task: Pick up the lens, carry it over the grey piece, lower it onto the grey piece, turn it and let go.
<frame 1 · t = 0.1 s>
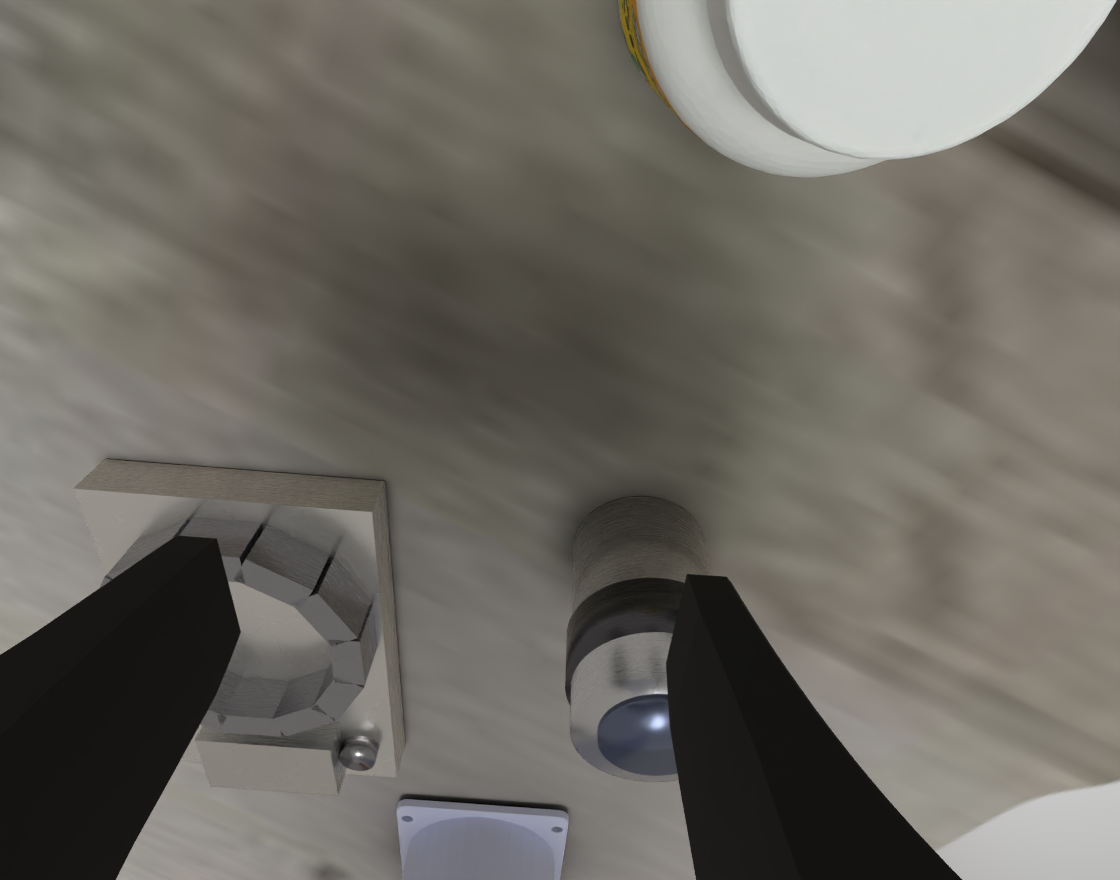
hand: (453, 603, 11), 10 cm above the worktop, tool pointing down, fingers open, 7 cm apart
grey piece: (277, 621, 25), on the worktop
lens: (638, 547, 23), on the worktop
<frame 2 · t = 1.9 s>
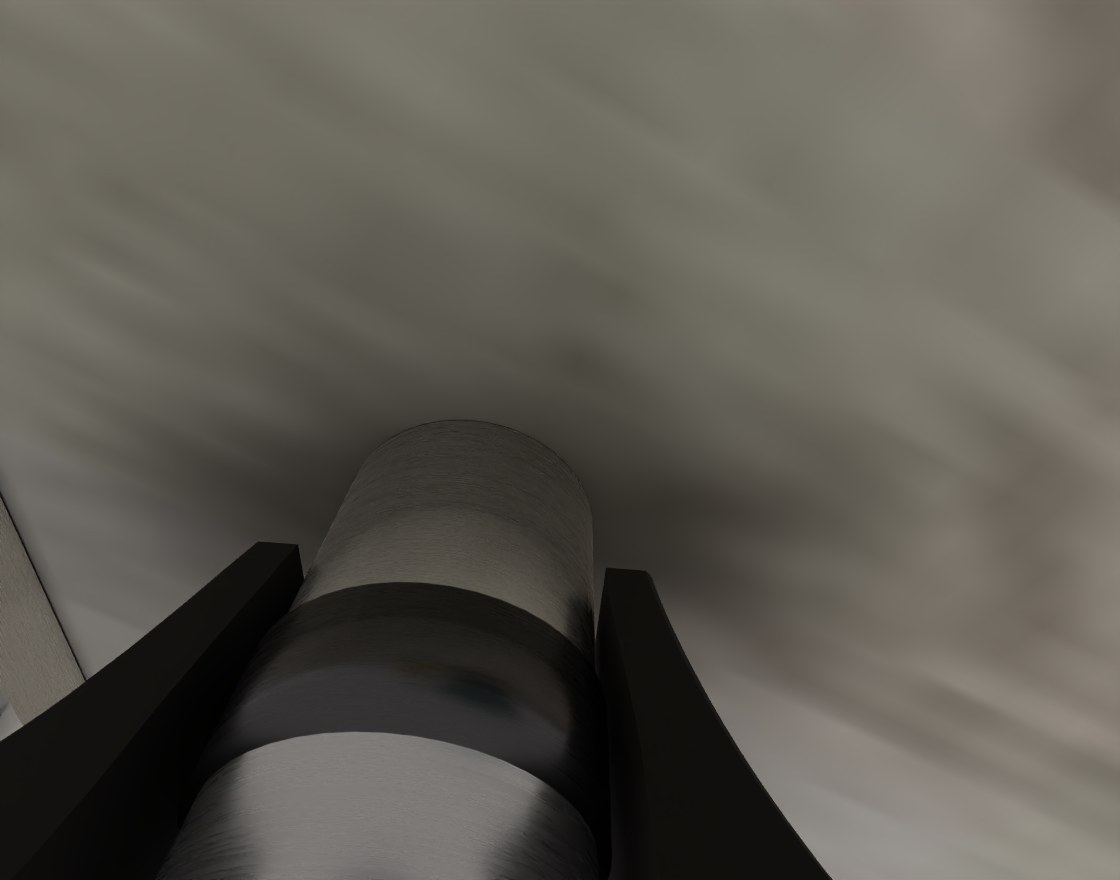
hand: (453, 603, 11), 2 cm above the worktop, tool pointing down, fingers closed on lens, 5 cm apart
lens: (471, 524, 12), on the worktop, touching gripper
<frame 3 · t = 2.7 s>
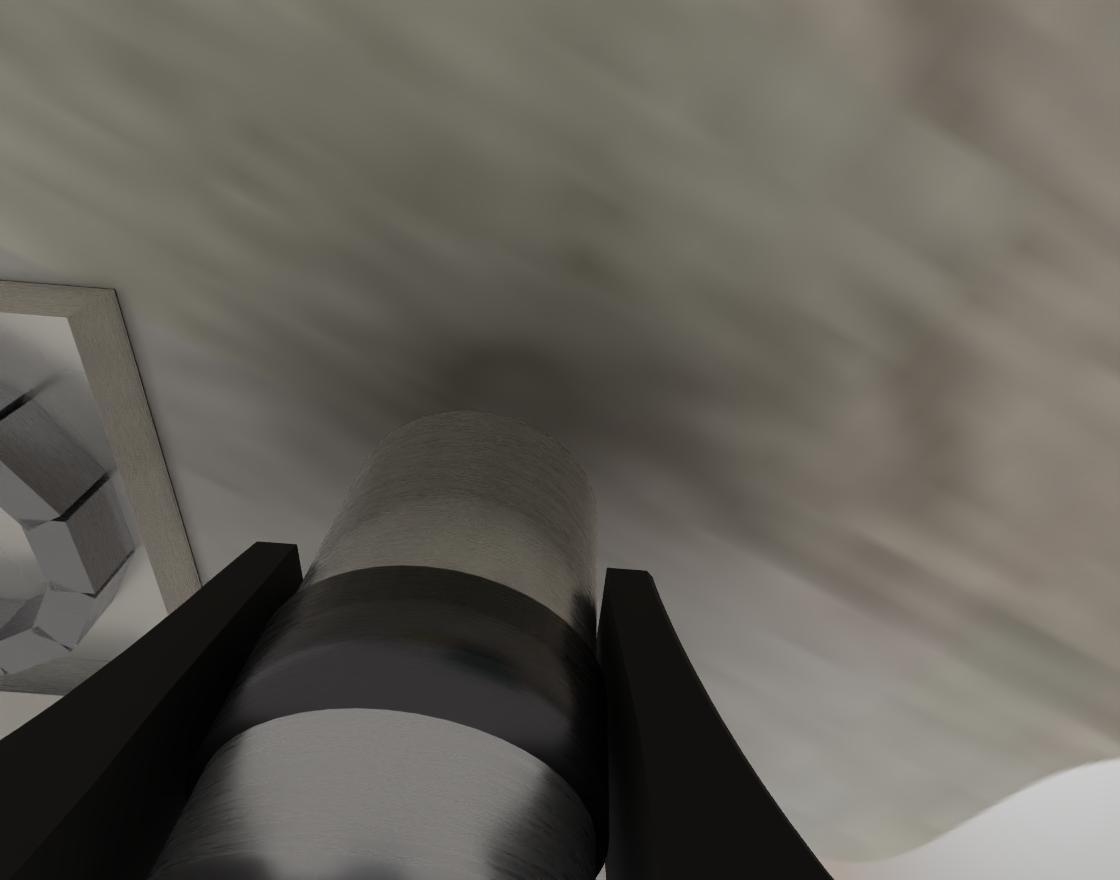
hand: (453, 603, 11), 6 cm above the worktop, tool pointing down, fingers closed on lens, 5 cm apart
grey piece: (21, 521, 18), on the worktop
lens: (476, 514, 12), point 4 cm above the worktop, touching gripper
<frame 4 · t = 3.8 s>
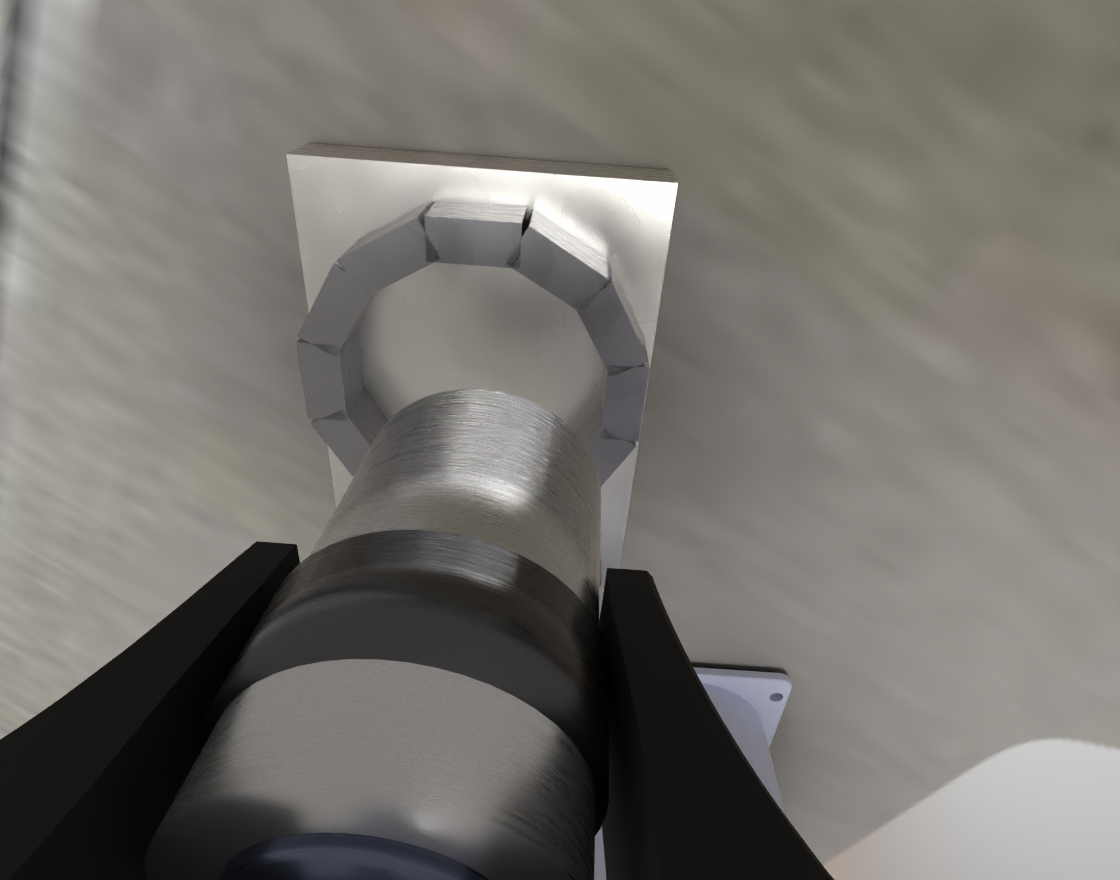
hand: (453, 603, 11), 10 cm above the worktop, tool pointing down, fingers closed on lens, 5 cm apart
grey piece: (488, 401, 21), on the worktop
lens: (483, 493, 13), point 8 cm above the worktop, touching gripper
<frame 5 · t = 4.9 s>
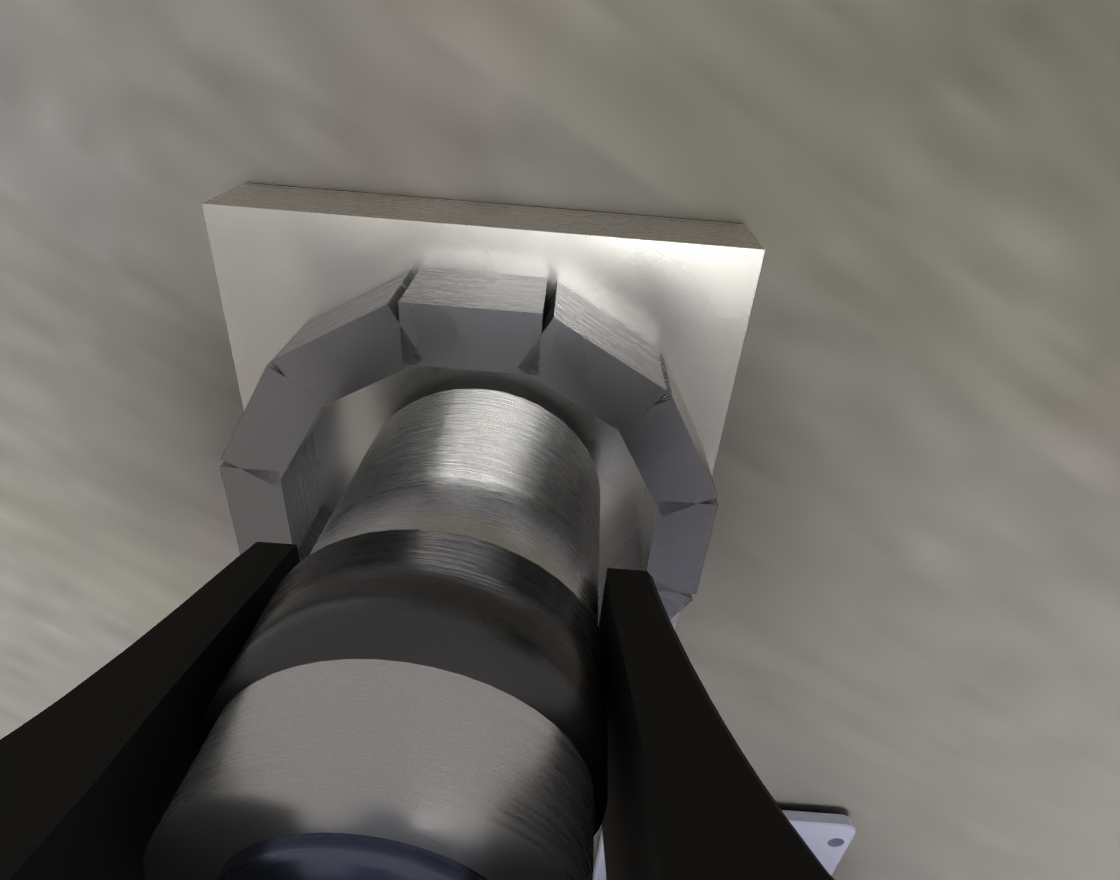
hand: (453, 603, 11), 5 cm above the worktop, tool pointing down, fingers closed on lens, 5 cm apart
grey piece: (489, 511, 16), on the worktop
lens: (482, 493, 13), point 2 cm above the worktop, touching gripper
when the fingers open (4 cm above the worktop, at t = 5.9 s): lens stays where it is, resting on grey piece.
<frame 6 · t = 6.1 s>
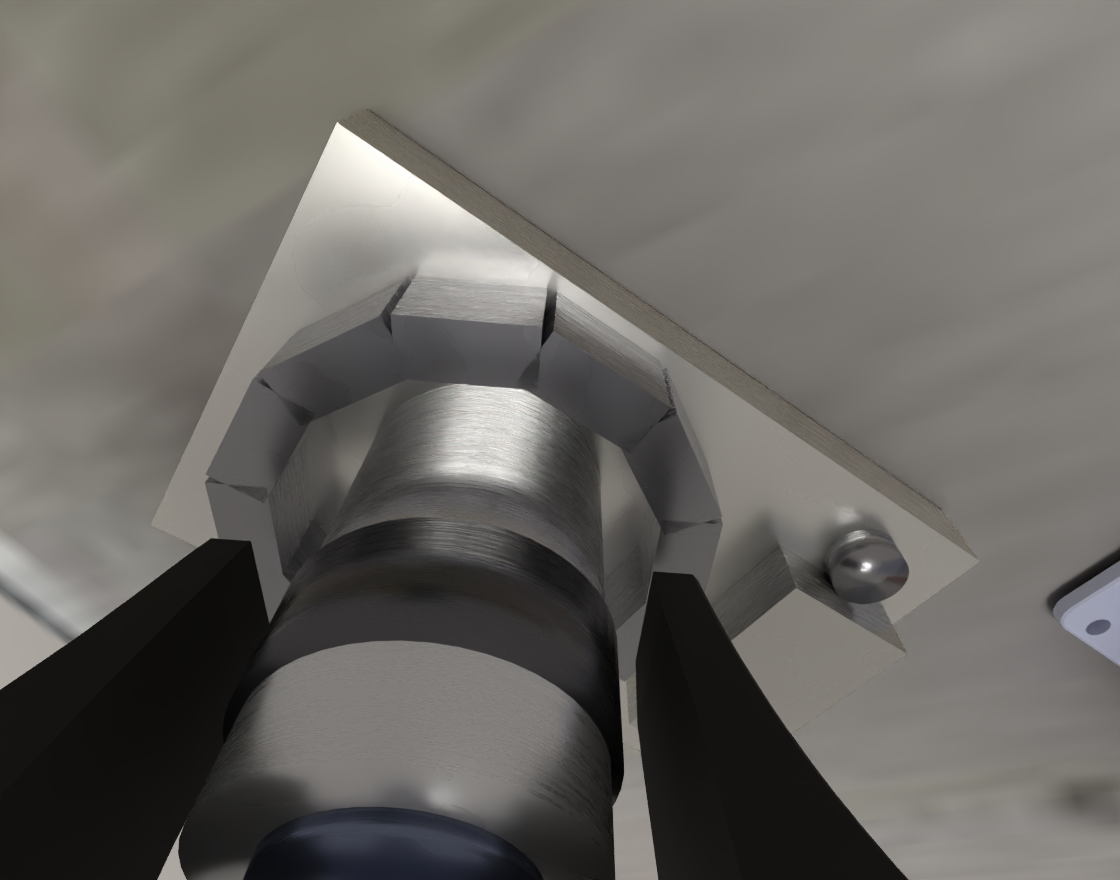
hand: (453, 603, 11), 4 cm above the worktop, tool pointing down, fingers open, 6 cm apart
grey piece: (565, 495, 15), on the worktop
lens: (484, 485, 13), point 2 cm above the worktop, touching grey piece
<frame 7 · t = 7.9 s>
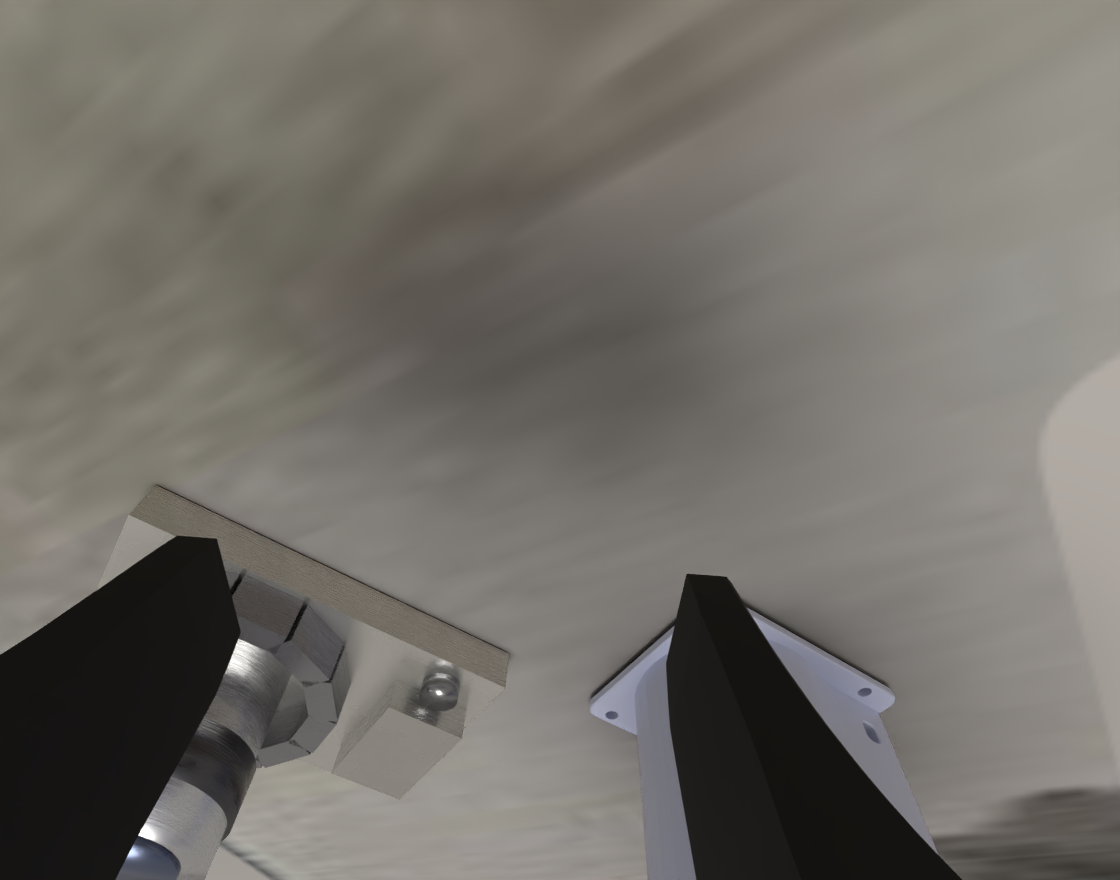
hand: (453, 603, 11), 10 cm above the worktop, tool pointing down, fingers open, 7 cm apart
grey piece: (298, 644, 27), on the worktop
lens: (233, 652, 25), point 2 cm above the worktop, touching grey piece
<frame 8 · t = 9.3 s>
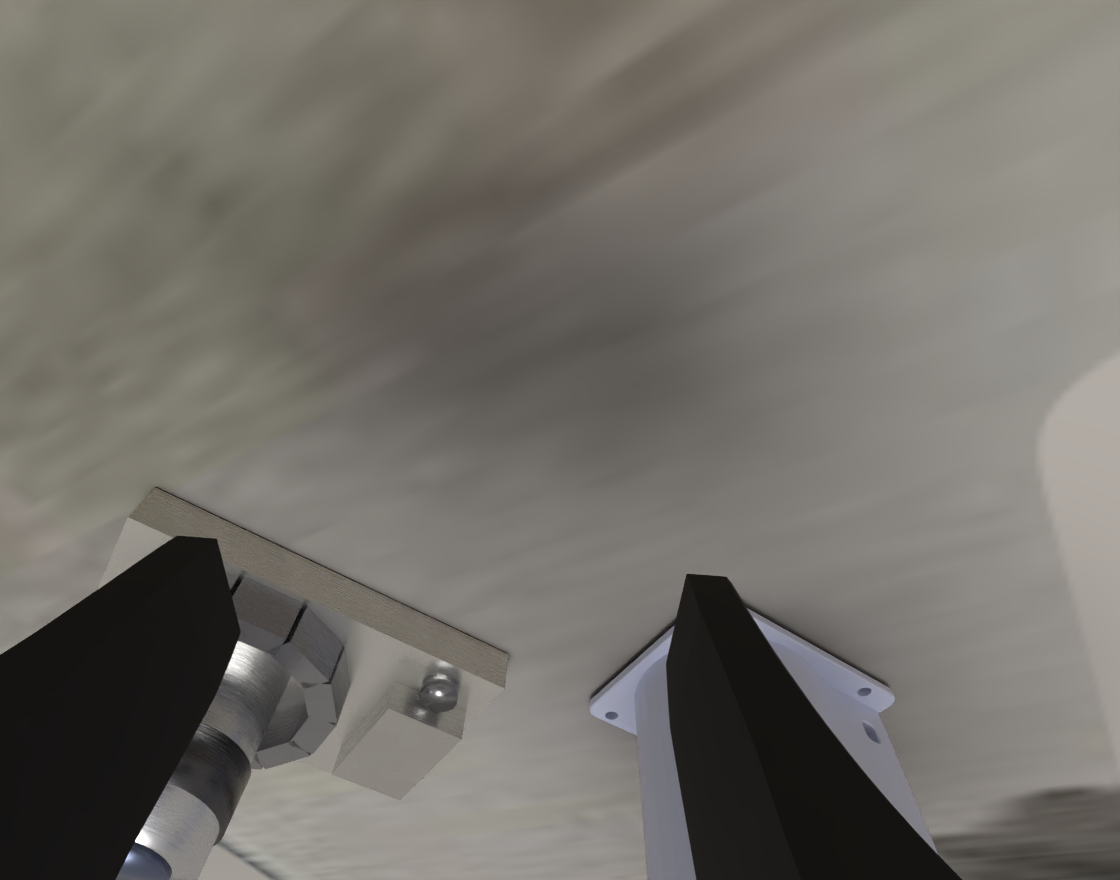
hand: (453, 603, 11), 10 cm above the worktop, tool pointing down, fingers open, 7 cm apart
grey piece: (298, 645, 27), on the worktop
lens: (232, 654, 25), point 2 cm above the worktop, touching grey piece
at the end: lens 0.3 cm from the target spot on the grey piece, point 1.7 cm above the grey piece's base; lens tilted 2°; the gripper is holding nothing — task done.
